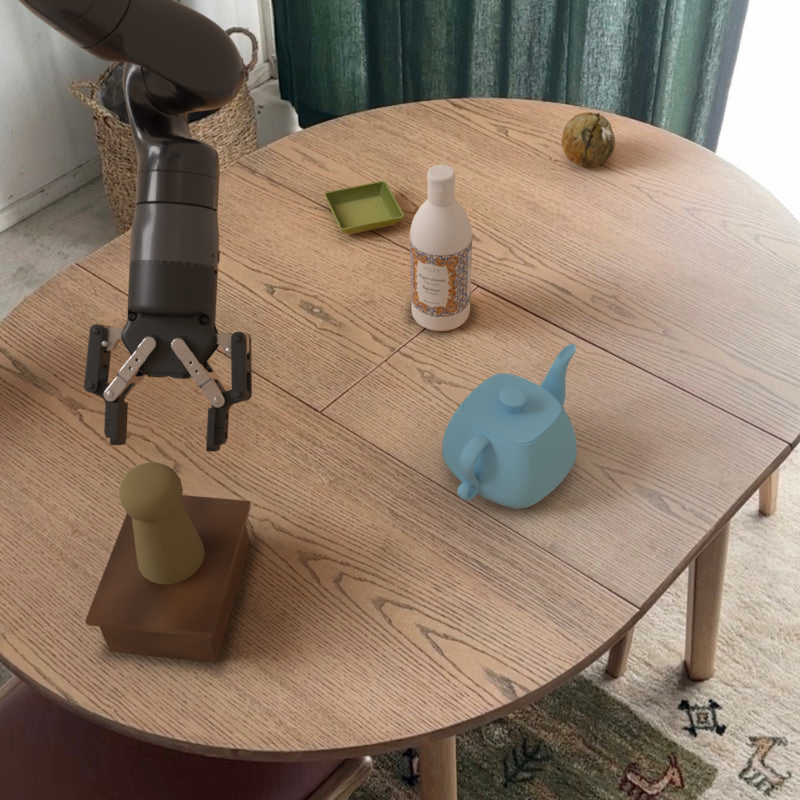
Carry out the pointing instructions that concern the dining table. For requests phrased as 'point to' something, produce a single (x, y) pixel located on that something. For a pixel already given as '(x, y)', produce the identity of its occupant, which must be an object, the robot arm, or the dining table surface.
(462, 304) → the bath foam
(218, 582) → the lidded wooden box
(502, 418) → the teapot
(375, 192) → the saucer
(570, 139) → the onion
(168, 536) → the olive pawn
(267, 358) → the dining table surface
